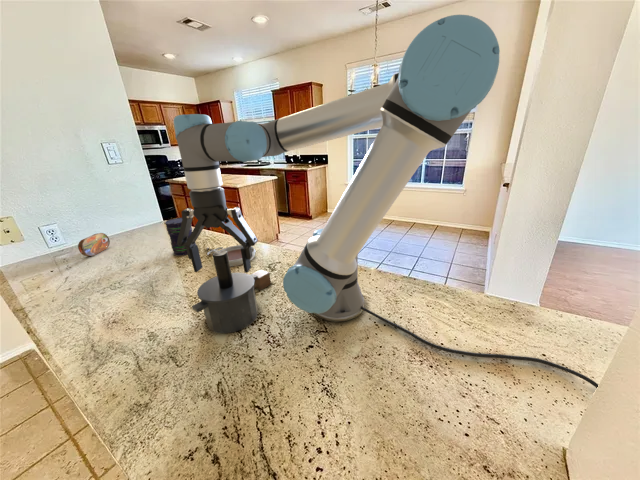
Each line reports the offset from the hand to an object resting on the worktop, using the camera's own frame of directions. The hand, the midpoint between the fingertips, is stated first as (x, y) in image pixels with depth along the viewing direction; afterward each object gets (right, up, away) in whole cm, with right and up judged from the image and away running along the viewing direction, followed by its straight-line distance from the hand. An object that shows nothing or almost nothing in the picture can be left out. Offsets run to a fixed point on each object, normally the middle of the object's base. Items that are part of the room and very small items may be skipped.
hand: (223, 269), depth 69 cm
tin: (-82, +2, +58) cm, 100 cm away
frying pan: (-15, +1, +45) cm, 48 cm away
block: (+6, -8, +21) cm, 23 cm away
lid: (0, -5, +2) cm, 5 cm away
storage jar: (-37, +2, +53) cm, 64 cm away
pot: (+1, -14, +5) cm, 15 cm away
